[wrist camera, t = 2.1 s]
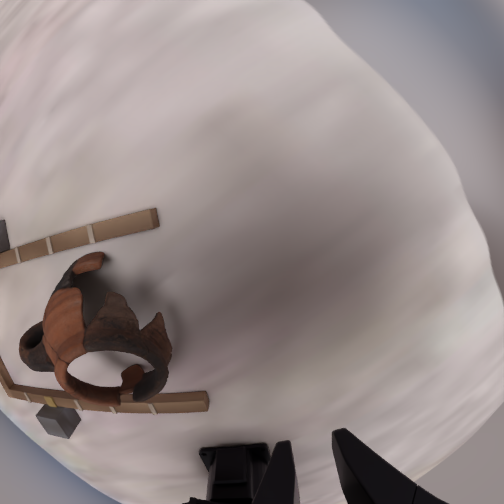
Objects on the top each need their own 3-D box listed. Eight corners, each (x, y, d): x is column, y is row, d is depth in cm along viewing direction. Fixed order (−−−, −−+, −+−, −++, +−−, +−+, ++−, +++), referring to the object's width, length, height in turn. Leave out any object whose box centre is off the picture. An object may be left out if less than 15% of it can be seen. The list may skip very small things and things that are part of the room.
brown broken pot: (134, 223, 18) (141, 305, 12) (177, 313, 24) (202, 393, 18) (7, 280, 16) (-20, 364, 9) (67, 353, 21) (67, 430, 15)
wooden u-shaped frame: (217, 423, 21) (214, 449, 18) (24, 409, 22) (11, 423, 18) (148, 167, 17) (129, 162, 14) (-41, 243, 17) (-60, 249, 14)
